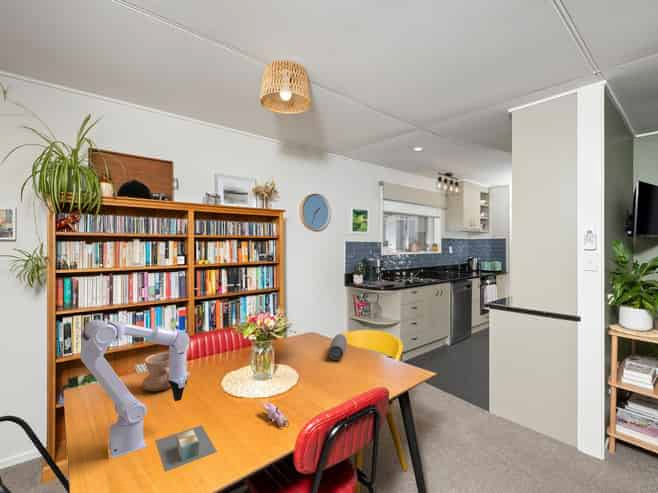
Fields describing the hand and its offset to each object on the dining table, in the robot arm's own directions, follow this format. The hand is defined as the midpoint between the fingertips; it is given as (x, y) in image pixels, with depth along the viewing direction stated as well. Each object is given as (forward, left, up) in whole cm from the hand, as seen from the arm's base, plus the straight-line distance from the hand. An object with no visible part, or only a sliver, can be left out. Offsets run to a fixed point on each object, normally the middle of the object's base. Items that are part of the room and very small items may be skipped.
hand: (177, 400), depth 115 cm
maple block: (0, -14, -7) cm, 16 cm away
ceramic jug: (0, +37, -10) cm, 38 cm away
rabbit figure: (+31, -17, -10) cm, 37 cm away
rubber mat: (0, -15, -9) cm, 18 cm away
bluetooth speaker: (+94, +23, -10) cm, 97 cm away
